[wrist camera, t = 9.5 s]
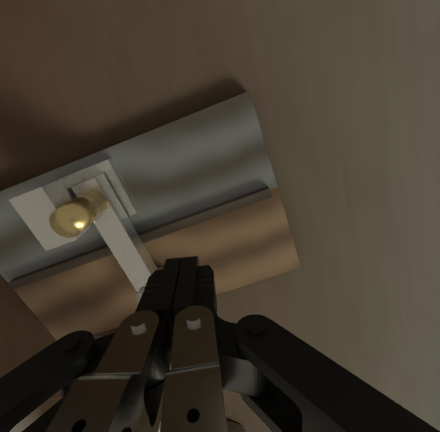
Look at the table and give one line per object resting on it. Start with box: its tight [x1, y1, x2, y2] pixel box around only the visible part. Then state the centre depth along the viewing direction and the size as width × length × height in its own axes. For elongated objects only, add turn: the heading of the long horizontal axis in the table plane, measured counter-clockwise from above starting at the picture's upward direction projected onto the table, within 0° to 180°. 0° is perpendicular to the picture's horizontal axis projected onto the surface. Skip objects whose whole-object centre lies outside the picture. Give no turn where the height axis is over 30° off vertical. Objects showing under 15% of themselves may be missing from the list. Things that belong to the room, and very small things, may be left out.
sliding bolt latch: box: [0, 91, 301, 340], centre depth 29 cm, size 21×34×3 cm, turn 110°
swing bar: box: [49, 173, 158, 303], centre depth 24 cm, size 16×4×7 cm, turn 21°
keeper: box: [9, 158, 140, 251], centre depth 24 cm, size 6×7×6 cm
